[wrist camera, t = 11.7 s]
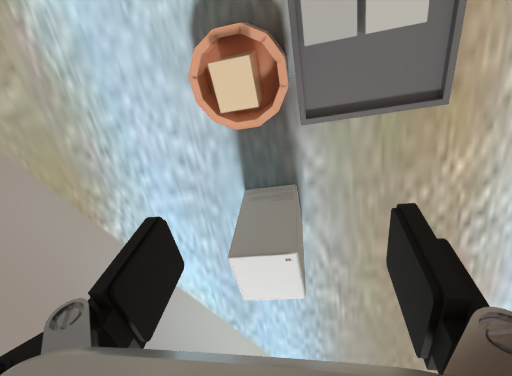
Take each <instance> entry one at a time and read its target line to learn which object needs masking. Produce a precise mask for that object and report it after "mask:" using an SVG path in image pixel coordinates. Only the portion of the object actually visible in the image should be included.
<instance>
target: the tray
mask: <svg viewBox="0 0 512 376" xmlns="http://www.w3.org/2000/svg"><path fill="white" fill-rule="evenodd" d="M466 2H467V0H429V8H428V17H427V22H423V23H418V24H413V25H408V26H403V27H398V28H393V29H388V30H383V31H379V32H374V33H369V34H363V33H360V32H357V36H354V37H349V38H344V39H339V40H334V41H329V42H324V43H319V44H314V45H309V46H304V44H303V41H302V29H301V18H300V7H299V0H288V7H289V16H290V25H291V35H292V44H293V53H294V63H295V72H296V81H297V91H298V100H299V109H300V119H301V125H307V124H314V123H321V122H328V121H335V120H342V119H349V118H356V117H363V116H370V115H376V114H383V113H390V112H397V111H404V110H411V109H418V108H425V107H432V106H439V105H446V104H449V98H450V93H451V87H452V81H453V76H454V70H455V64H456V59H457V53H458V48H459V42H460V36H461V31H462V25H463V19H464V14H465V8H466Z"/></svg>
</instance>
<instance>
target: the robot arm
mask: <svg viewBox="0 0 512 376" xmlns="http://www.w3.org/2000/svg"><path fill="white" fill-rule="evenodd" d="M386 261H387V268H388V271H389V274H390V277H391V280H392V283H393V286H394V289H395V292H396V295H397V298H398V301H399V304H400V307H401V310H402V314H403V317H404V320H405V323H406V326H407V329H408V332H409V335H410V338H411V341H412V344H413V347H414V350H415V353H416V355H417V357H418V358H423V359H424V362H425V364H426V367H427V370H437V371H438V373H439V374H436V373H431V372H426V371H421V370H414V369H406V368H399V367H390V366H379V365H368V364H357V363H345V362H332V361H318V360H304V359H290V358H276V357H262V356H246V355H231V354H216V353H201V352H186V351H168V350H152V349H143V348H144V346H145V344H146V342H148V341H149V340H150V339H151V337H152V335H153V333H154V331H155V329H156V327H157V325H158V323H159V321H160V319H161V316H162V314H163V312H164V310H165V308H166V306H167V304H168V302H169V299H170V297H171V295H172V293H173V291H174V289H175V287H176V285H177V283H178V280H179V278H180V276H181V274H182V272H183V270H184V261H183V259H182V256H181V254H180V252H179V249H178V247H177V245H176V243H175V240H174V238H173V236H172V234H171V231H170V229H169V227H168V224H167V222H166V221H165V220H163V219H162V218H161V217H148V218H146V219H145V220H144V222H143V223H142V224H141V225H140V227H139V228H138V229H137V231H136V232H135V233H134V234H133V236H132V237H131V238H130V240H129V241H128V242H127V243H126V245H125V246H124V247H123V249H122V250H121V251H120V253H119V254H118V255H117V256H116V258H115V259H114V260H113V261H112V263H111V264H110V265H109V267H108V268H107V269H106V270H105V272H104V273H103V274H102V276H101V277H100V278H99V279H98V281H97V282H96V283H95V285H94V286H93V287H92V288H91V290H90V291H89V292H88V294H89V295H90V299H89V300H88V301H87V300H86V299H83V298H78V299H73V300H71V301H69V302H66V303H65V304H63V305H62V306H60V307H59V308H58V309H56V310H55V311H54V312H53V313H52V314H51V315H50V317H49V318H48V320H47V321H46V324H45V327H44V332H42V333H40V334H39V335H37V336H35V337H33V338H32V339H30V340H28V341H27V342H25V343H23V344H21V345H20V346H18V347H16V348H14V349H13V350H11V351H9V352H8V353H6V354H4V355H2V356H1V357H0V376H512V312H511V311H508V310H506V309H502V308H497V307H490V306H489V305H488V303H487V301H486V300H485V298H484V297H483V295H482V294H481V292H480V290H479V289H478V287H477V286H476V284H475V283H474V281H473V279H472V278H471V276H470V275H469V273H468V272H467V270H466V269H465V267H464V265H463V264H462V262H461V261H460V259H459V258H458V256H457V254H456V253H455V251H454V250H453V248H452V247H451V245H450V244H449V242H448V241H447V240H446V239H444V238H442V239H437V238H436V236H435V235H434V233H433V231H432V230H431V228H430V226H429V225H428V223H427V221H426V220H425V218H424V216H423V215H422V213H421V211H420V210H419V208H418V206H417V205H416V204H415V203H408V204H398V205H397V208H392V210H391V218H390V228H389V238H388V249H387V259H386Z"/></svg>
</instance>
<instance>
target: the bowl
mask: <svg viewBox="0 0 512 376" xmlns="http://www.w3.org/2000/svg"><path fill="white" fill-rule="evenodd" d="M253 49H256V55H257V60H258V66H259V72H260V77H261V83H262V89H263V96H262V99H261V102H260V105H259V107H254V108H248V109H242V110H236V111H230V112H225V113H221V112H220V108H219V105H218V101H217V97H216V93H215V89H214V86H213V82H212V78H211V74H210V71H209V67H208V63H210V62H211V61H213V60H215V59H217V58H218V57H220V56H224V55H229V54H234V53H239V52H243V51H248V50H253ZM189 80H190V83H191V87H192V90H193V93H194V97H195V100H196V102H197V104H198V105H199V106H200V107H201V108H202V109H203V110H204V112H205V113H206V114H207V115H208V116H209V117H210V118H211V119H212V120H213V121H214V122H216V123H219V124H222V125H224V126H227V127H230V128H233V129H235V130H236V129H237V130H239V129H246V128H253V127H259V126H261V125H262V124H263V123H265V122H266V121H267V120H268V119H270V118H271V117H272V116H273V115H275V114H276V113H277V112H278V111H279V109H280V107H281V104H282V102H283V99H284V97H285V94H286V92H287V89H288V85H289V78H288V70H287V62H286V54H285V53H284V51H283V50H282V48H281V47H280V45H279V44H278V42H277V41H276V40H275V39H274V37H273V36H272V35H271V33H270V32H269V31H266V30H264V29H262V28H260V27H257V26H254V25H251V24H249V23H247V22H241V23H236V24H232V25H227V26H223V27H218V28H214V29H212V30H211V31H210V32H209V33H208V34H207V35H206V36H205V38H204V39H203V40H202V41H201V42H200V43H199V44H198V45H197V46H196V48H195V49H194V51H193V56H192V61H191V66H190V72H189Z"/></svg>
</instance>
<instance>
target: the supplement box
mask: <svg viewBox="0 0 512 376" xmlns="http://www.w3.org/2000/svg"><path fill="white" fill-rule="evenodd" d="M228 260H229V263H230V266H231V268H232V271H233V274H234V277H235V279H236V282H237V285H238V287H239V290H240V293H241V295H242V298H243V300H276V299H304V298H305V297H306V292H305V267H304V249H303V226H302V216H301V209H300V203H299V197H298V191H297V185H296V184H293V185H283V186H274V187H265V188H257V189H249V190H245V193H244V197H243V200H242V204H241V208H240V212H239V216H238V220H237V224H236V228H235V232H234V236H233V240H232V244H231V248H230V251H229V255H228Z"/></svg>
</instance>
